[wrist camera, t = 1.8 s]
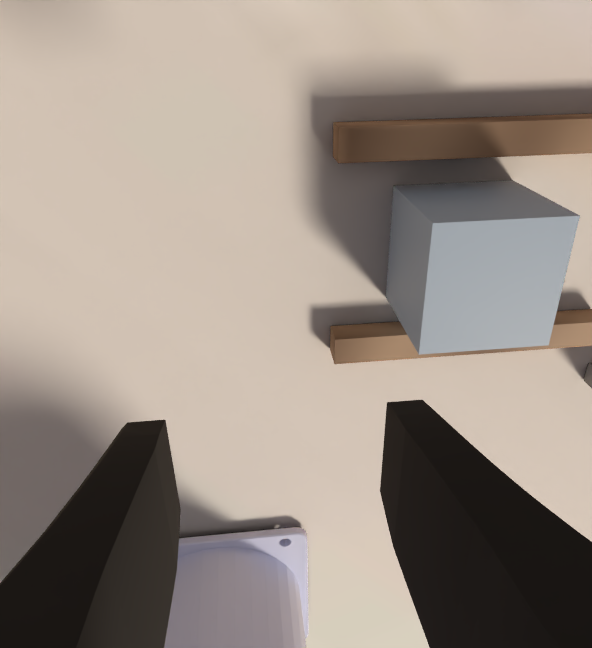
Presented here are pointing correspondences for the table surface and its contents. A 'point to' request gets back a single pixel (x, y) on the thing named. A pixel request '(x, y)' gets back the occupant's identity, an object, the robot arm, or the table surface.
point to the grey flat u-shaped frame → (588, 375)
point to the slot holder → (452, 143)
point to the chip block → (477, 264)
